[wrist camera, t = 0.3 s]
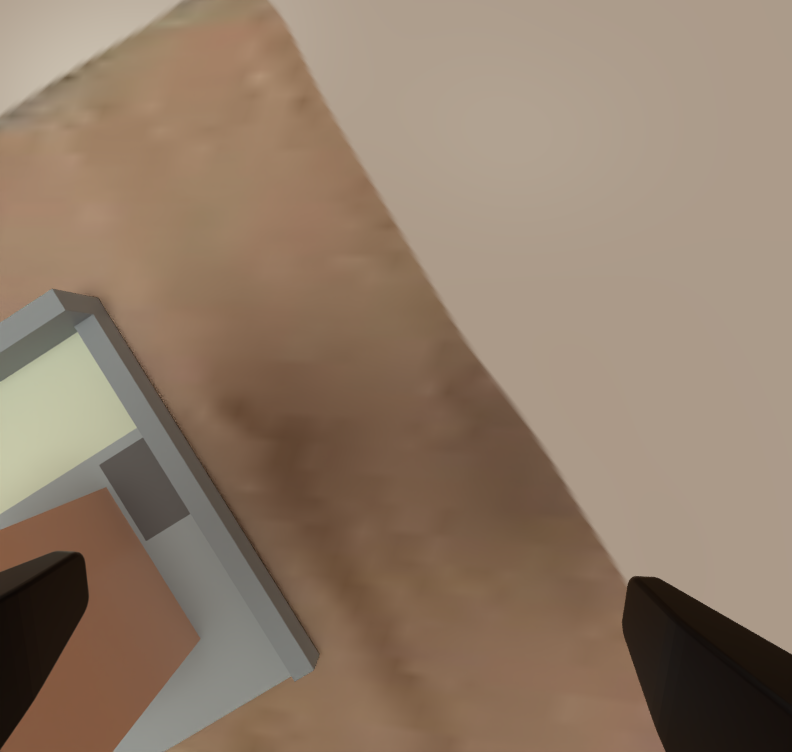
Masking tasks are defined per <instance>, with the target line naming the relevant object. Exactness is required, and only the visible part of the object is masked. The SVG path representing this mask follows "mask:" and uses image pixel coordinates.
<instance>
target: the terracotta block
mask: <svg viewBox="0 0 792 752" xmlns="http://www.w3.org/2000/svg"><path fill="white" fill-rule="evenodd" d="M54 551H75V552H80V553H81V554H82V555H83V556H84V558H85V563H86V572H87V581H88V590H89V602H88V606H87V609H86V611H85V613H84V615H83V617H82V618H81V620H80V622H79V624H78V625H77V627H76V629H75V631H74V632H73V634H72V636H71V638H70V639H69V641H68V643H67V645H66V646H65V648H64V650H63V652H62V654H61V655H60V657H59V659H58V661H57V662H56V664H55V666H54V668H53V669H52V671H51V673H50V675H49V676H48V678H47V680H46V682H45V683H44V685H43V687H42V688H41V690H40V692H39V693H38V695H37V697H36V698H35V700H34V702H33V703H32V705H31V706H30V708H29V709H28V711H27V712H26V714H25V715H24V717H23V718H22V720H21V721H20V722H19V724H18V725H17V727H16V728H15V730H14V731H13V733H12V734H11V735H10V737H9V738H8V740H7V741H6V743H5V744H4V746H3V747H2V748H1V750H0V752H113V751H114V749H115V748H116V747H117V746H118V744H119V743H120V742H121V740H122V739H123V738H124V737H125V735H126V734H127V733H128V731H129V730H130V729H131V728H132V726H133V725H134V724H135V723H136V721H137V720H138V719H139V717H140V716H141V715H142V714H143V712H144V711H145V710H146V708H147V707H148V706H149V705H150V703H151V702H152V701H153V699H154V698H155V697H156V696H157V694H158V693H159V692H160V691H161V689H162V688H163V687H164V685H165V684H166V683H167V682H168V680H169V679H170V678H171V676H172V675H173V674H174V673H175V671H176V670H177V669H178V667H179V666H180V665H181V664H182V662H183V661H184V660H185V658H186V657H187V656H188V655H189V653H190V652H191V651H192V650H193V648H194V647H195V646H196V644H197V643H198V642H199V641H200V637H199V635H198V634H197V632H196V631H195V629H194V627H193V626H192V624H191V622H190V621H189V619H188V618H187V616H186V614H185V613H184V611H183V610H182V608H181V606H180V605H179V603H178V602H177V600H176V598H175V597H174V595H173V594H172V592H171V590H170V589H169V587H168V585H167V584H166V582H165V581H164V579H163V577H162V576H161V574H160V573H159V571H158V569H157V568H156V566H155V565H154V563H153V561H152V560H151V558H150V557H149V555H148V553H147V552H146V550H145V548H144V547H143V545H142V544H141V542H140V540H139V539H138V537H137V536H136V534H135V532H134V531H133V529H132V528H131V526H130V524H129V523H128V521H127V519H126V518H125V516H124V515H123V513H122V511H121V510H120V508H119V507H118V505H117V503H116V502H115V500H114V499H113V497H112V495H111V494H110V492H109V491H108V489H107V487H105V488H102V489H100V490H97V491H95V492H92V493H90V494H88V495H85V496H83V497H80V498H78V499H75V500H73V501H70V502H68V503H65V504H63V505H60V506H58V507H55V508H53V509H50V510H48V511H46V512H43V513H41V514H38V515H36V516H33V517H31V518H28V519H26V520H23V521H21V522H18V523H16V524H13V525H11V526H8V527H6V528H4V529H1V530H0V572H1V571H4V570H7V569H9V568H12V567H14V566H17V565H19V564H22V563H25V562H27V561H30V560H32V559H35V558H38V557H40V556H43V555H45V554H48V553H51V552H54Z"/></svg>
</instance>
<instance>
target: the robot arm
mask: <svg viewBox="0 0 792 752" xmlns="http://www.w3.org/2000/svg"><path fill="white" fill-rule="evenodd" d="M88 602H89V590H88V581H87V572H86V563H85V558H84V556H83V555H82V554H81V553H80V552H75V551H54V552H51V553H48V554H45V555H43V556H40V557H38V558H35V559H32V560H30V561H27V562H25V563H22V564H19V565H17V566H14V567H12V568H9V569H7V570H4V571H1V572H0V750H1V748H2V747H3V746H4V744H5V743H6V741H7V740H8V738H9V737H10V735H11V734H12V733H13V731H14V730H15V728H16V727H17V725H18V724H19V722H20V721H21V720H22V718H23V717H24V715H25V714H26V712H27V711H28V709H29V708H30V706H31V705H32V703H33V702H34V700H35V698H36V697H37V695H38V693H39V692H40V690H41V688H42V687H43V685H44V683H45V682H46V680H47V678H48V676H49V675H50V673H51V671H52V669H53V668H54V666H55V664H56V662H57V661H58V659H59V657H60V655H61V654H62V652H63V650H64V648H65V646H66V645H67V643H68V641H69V639H70V638H71V636H72V634H73V632H74V631H75V629H76V627H77V625H78V624H79V622H80V620H81V618H82V617H83V615H84V613H85V611H86V609H87V606H88ZM622 628H623V634H624V638H625V641H626V643H627V646H628V649H629V652H630V655H631V658H632V661H633V664H634V667H635V670H636V673H637V676H638V679H639V682H640V685H641V688H642V691H643V693H644V696H645V699H646V702H647V705H648V708H649V711H650V714H651V717H652V720H653V722H654V725H655V728H656V730H657V733H658V735H659V737H660V740H661V742H662V744H663V747H664V749H665V751H666V752H792V654H790V653H788V652H787V651H785V650H783V649H781V648H780V647H778V646H776V645H774V644H773V643H771V642H769V641H767V640H766V639H764V638H762V637H760V636H759V635H757V634H755V633H754V632H751V631H750V630H748V629H747V628H745V627H743V626H741V625H739V624H738V623H736V622H734V621H733V620H731V619H729V618H727V617H726V616H724V615H722V614H720V613H719V612H717V611H715V610H713V609H711V608H710V607H708V606H706V605H705V604H703V603H701V602H699V601H698V600H696V599H694V598H693V597H691V596H689V595H687V594H686V593H684V592H682V591H680V590H678V589H677V588H675V587H673V586H672V585H670V584H668V583H666V582H665V581H663V580H661V579H659V578H656V577H642V576H634V577H632V578H631V579H630V580H629V582H628V586H627V592H626V599H625V605H624V612H623V619H622Z"/></svg>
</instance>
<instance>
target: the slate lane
mask: <svg viewBox="0 0 792 752" xmlns="http://www.w3.org/2000/svg"><path fill="white" fill-rule="evenodd" d="M105 487H107V489H108V491H109V492H110V494H111V495H112V497H113V499H114V500H115V502H116V503H117V505H118V507H119V508H120V510H121V511H122V513H123V515H124V516H125V518H126V519H127V521H128V523H129V524H130V526H131V528H132V529H133V531H134V532H135V534H136V536H137V537H138V539H139V540H140V542H141V544H142V545H143V547H144V548H145V550H146V552H147V553H148V555H149V557H150V558H151V560H152V561H153V563H154V565H155V566H156V568H157V569H158V571H159V573H160V574H161V576H162V577H163V579H164V581H165V582H166V584H167V585H168V587H169V589H170V590H171V592H172V594H173V595H174V597H175V598H176V600H177V602H178V603H179V605H180V606H181V608H182V610H183V611H184V613H185V614H186V616H187V618H188V619H189V621H190V622H191V624H192V626H193V627H194V629H195V631H196V632H197V634H198V635H199V637H200V641H199V642H198V643H197V644H196V646H195V647H194V648H193V650H192V651H191V652H190V653H189V655H188V656H187V657H186V658H185V660H184V661H183V662H182V664H181V665H180V666H179V667H178V669H177V670H176V671H175V673H174V674H173V675H172V676H171V678H170V679H169V680H168V682H167V683H166V684H165V685H164V687H163V688H162V689H161V691H160V692H159V693H158V694H157V696H156V697H155V698H154V699H153V701H152V702H151V703H150V705H149V706H148V707H147V708H146V710H145V711H144V712H143V714H142V715H141V716H140V717H139V719H138V720H137V721H136V723H135V724H134V725H133V726H132V728H131V729H130V730H129V731H128V733H127V734H126V735H125V737H124V738H123V739H122V740H121V742H120V743H119V744H118V746H117V747H116V748H115V749H114V751H113V752H164V751H166V750H168V749H169V748H171V747H173V746H174V745H176V744H178V743H179V742H181V741H183V740H185V739H186V738H188V737H190V736H191V735H193V734H195V733H196V732H198V731H200V730H201V729H203V728H205V727H206V726H208V725H210V724H212V723H213V722H215V721H217V720H218V719H220V718H222V717H223V716H225V715H227V714H228V713H230V712H232V711H233V710H235V709H237V708H239V707H240V706H242V705H244V704H245V703H247V702H249V701H250V700H252V699H254V698H255V697H257V696H259V695H260V694H262V693H264V692H266V691H267V690H269V689H271V688H272V687H274V686H276V685H277V684H279V683H281V682H282V681H284V680H286V679H287V678H289V677H292V678H293V680H294V681H297V680H298V679H300V678H302V677H303V676H305V675H307V674H308V673H310V672H312V671H313V670H314V669H315V666H316V663H317V660H318V657H319V653H318V652H317V650H316V648H315V647H314V645H313V644H312V642H311V640H310V639H309V637H308V636H307V634H306V632H305V631H304V629H303V627H302V626H301V624H300V623H299V621H298V619H297V618H296V616H295V615H294V613H293V611H292V610H291V608H290V607H289V605H288V603H287V602H286V600H285V598H284V597H283V595H282V594H281V592H280V590H279V589H278V587H277V586H276V584H275V582H274V581H273V579H272V578H271V576H270V574H269V573H268V571H267V569H266V568H265V566H264V565H263V563H262V561H261V560H260V558H259V557H258V555H257V553H256V552H255V550H254V549H253V547H252V545H251V544H250V542H249V540H248V539H247V537H246V536H245V534H244V532H243V531H242V529H241V528H240V526H239V524H238V523H237V521H236V520H235V518H234V516H233V515H232V513H231V511H230V510H229V508H228V507H227V505H226V503H225V502H224V500H223V499H222V497H221V495H220V494H219V492H218V491H217V489H216V487H215V486H214V484H213V483H212V481H211V479H210V478H209V476H208V474H207V473H206V471H205V470H204V468H203V466H202V465H201V463H200V462H199V460H198V458H197V457H196V455H195V454H194V452H193V450H192V449H191V447H190V445H189V444H188V442H187V441H186V439H185V437H184V436H183V434H182V433H181V431H180V429H179V428H178V426H177V425H176V423H175V421H174V420H173V418H172V416H171V415H170V413H169V412H168V410H167V408H166V407H165V405H164V404H163V402H162V400H161V399H160V397H159V396H158V394H157V392H156V391H155V389H154V387H153V386H152V384H151V383H150V381H149V379H148V378H147V376H146V375H145V373H144V371H143V370H142V368H141V367H140V365H139V363H138V362H137V360H136V358H135V357H134V355H133V354H132V352H131V350H130V349H129V347H128V346H127V344H126V342H125V341H124V339H123V338H122V336H121V334H120V333H119V331H118V329H117V328H116V326H115V325H114V323H113V321H112V320H111V318H110V317H109V315H108V313H107V312H106V310H105V309H104V307H103V305H102V304H101V302H100V300H99V299H98V298H97V297H91V296H86V295H81V294H76V293H71V292H66V291H61V290H56V289H51V290H49V291H48V292H46V293H45V294H43V295H42V296H40V297H39V298H37V299H36V300H34V301H33V302H31V303H30V304H28V305H26V306H25V307H23V308H22V309H20V310H19V311H17V312H16V313H14V314H13V315H11V316H10V317H8V318H7V319H5V320H4V321H2V322H0V530H1V529H4V528H6V527H8V526H11V525H13V524H16V523H18V522H21V521H23V520H26V519H28V518H31V517H33V516H36V515H38V514H41V513H43V512H46V511H48V510H50V509H53V508H55V507H58V506H60V505H63V504H65V503H68V502H70V501H73V500H75V499H78V498H80V497H83V496H85V495H88V494H90V493H92V492H95V491H97V490H100V489H102V488H105Z"/></svg>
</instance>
